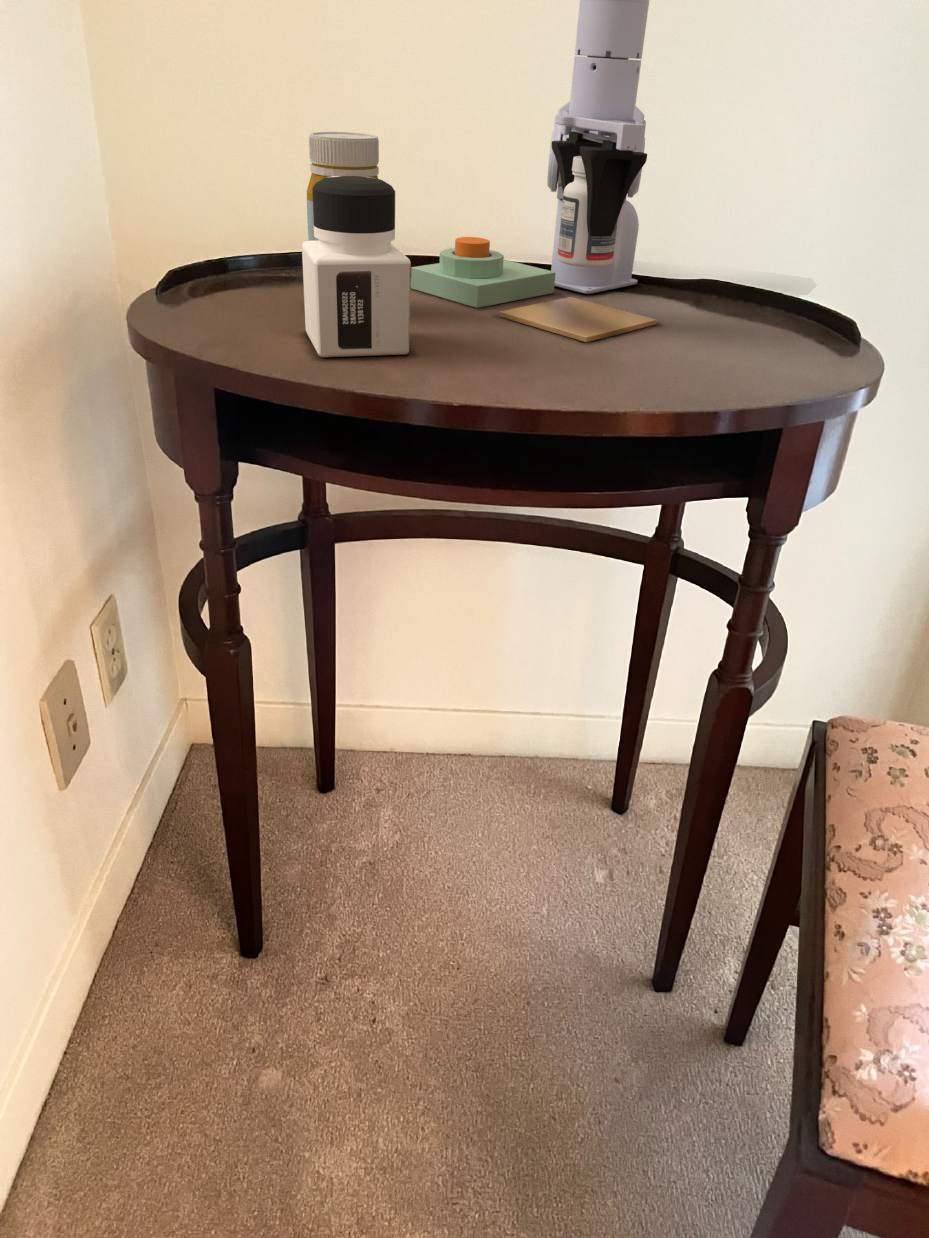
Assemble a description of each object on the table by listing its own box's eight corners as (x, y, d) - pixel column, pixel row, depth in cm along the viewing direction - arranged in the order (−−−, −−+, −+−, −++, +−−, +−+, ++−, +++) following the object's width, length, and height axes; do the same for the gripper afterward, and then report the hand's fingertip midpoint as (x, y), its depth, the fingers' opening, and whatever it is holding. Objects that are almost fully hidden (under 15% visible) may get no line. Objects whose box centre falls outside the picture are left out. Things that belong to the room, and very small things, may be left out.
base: (488, 275, 103) (490, 238, 101) (553, 293, 98) (557, 254, 95) (410, 288, 96) (411, 249, 94) (477, 308, 90) (479, 266, 88)
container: (410, 355, 75) (413, 185, 68) (318, 359, 73) (311, 184, 66) (390, 331, 82) (391, 173, 75) (305, 333, 80) (297, 171, 73)
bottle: (371, 320, 84) (370, 141, 76) (301, 313, 85) (292, 135, 77) (391, 304, 90) (392, 135, 82) (325, 297, 91) (319, 129, 83)
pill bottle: (617, 261, 87) (630, 158, 82) (606, 270, 82) (620, 163, 78) (563, 254, 88) (574, 153, 83) (550, 264, 84) (560, 158, 79)
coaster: (569, 301, 95) (570, 296, 94) (655, 324, 88) (656, 319, 88) (498, 316, 88) (499, 311, 88) (586, 342, 82) (586, 337, 81)
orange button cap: (471, 253, 96) (472, 235, 95) (495, 259, 94) (497, 241, 93) (447, 256, 94) (448, 238, 93) (471, 262, 92) (472, 244, 91)
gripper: (536, 54, 81) (523, 216, 88) (595, 58, 69) (575, 244, 77) (608, 58, 83) (589, 217, 90) (678, 63, 71) (650, 245, 78)
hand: (588, 230), depth 84 cm, fingers closed on pill bottle, 5 cm apart
